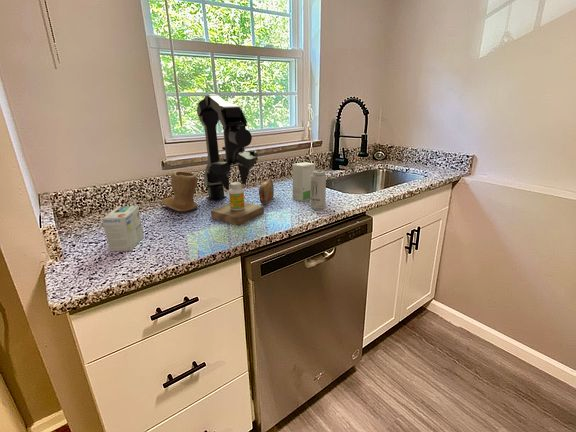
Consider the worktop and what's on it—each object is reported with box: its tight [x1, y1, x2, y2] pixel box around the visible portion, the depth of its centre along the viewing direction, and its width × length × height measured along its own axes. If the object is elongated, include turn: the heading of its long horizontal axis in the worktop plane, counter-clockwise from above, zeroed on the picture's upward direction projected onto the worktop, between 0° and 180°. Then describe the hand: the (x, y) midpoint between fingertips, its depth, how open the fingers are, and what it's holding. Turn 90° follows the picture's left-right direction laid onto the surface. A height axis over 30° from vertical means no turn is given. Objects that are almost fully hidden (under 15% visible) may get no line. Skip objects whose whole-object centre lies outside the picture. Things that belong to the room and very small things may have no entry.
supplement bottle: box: [228, 181, 245, 211], centre depth 116 cm, size 5×5×10 cm
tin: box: [258, 180, 275, 205], centre depth 133 cm, size 15×3×8 cm, turn 168°
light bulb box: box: [101, 205, 145, 253], centre depth 95 cm, size 11×7×11 cm, turn 5°
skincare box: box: [292, 161, 316, 203], centre depth 134 cm, size 8×7×16 cm
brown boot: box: [161, 170, 198, 212], centre depth 126 cm, size 15×12×15 cm
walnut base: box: [210, 201, 265, 227], centre depth 118 cm, size 14×14×3 cm
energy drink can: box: [309, 169, 327, 211], centre depth 123 cm, size 6×6×15 cm
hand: (236, 186), depth 114 cm, fingers open, 9 cm apart
